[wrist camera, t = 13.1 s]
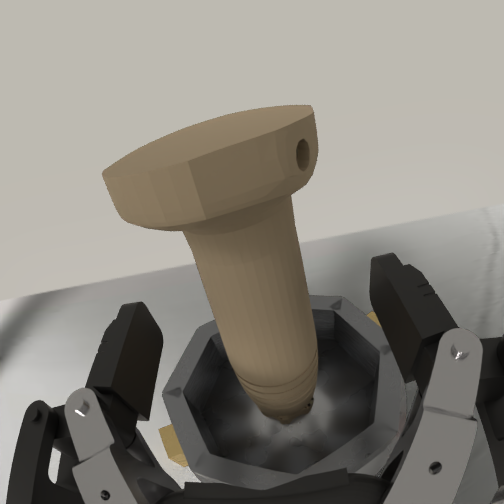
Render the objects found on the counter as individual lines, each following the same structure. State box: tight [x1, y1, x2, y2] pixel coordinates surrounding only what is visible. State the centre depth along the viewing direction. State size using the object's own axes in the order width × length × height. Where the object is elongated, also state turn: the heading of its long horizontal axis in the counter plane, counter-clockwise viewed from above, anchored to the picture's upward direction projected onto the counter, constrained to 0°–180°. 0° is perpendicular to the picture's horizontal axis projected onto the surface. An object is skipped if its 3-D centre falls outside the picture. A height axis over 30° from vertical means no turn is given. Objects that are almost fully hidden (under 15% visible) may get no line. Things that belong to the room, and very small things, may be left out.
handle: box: [102, 105, 318, 424], centre depth 11 cm, size 5×6×15 cm
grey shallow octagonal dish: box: [158, 295, 407, 490], centre depth 15 cm, size 15×14×4 cm
